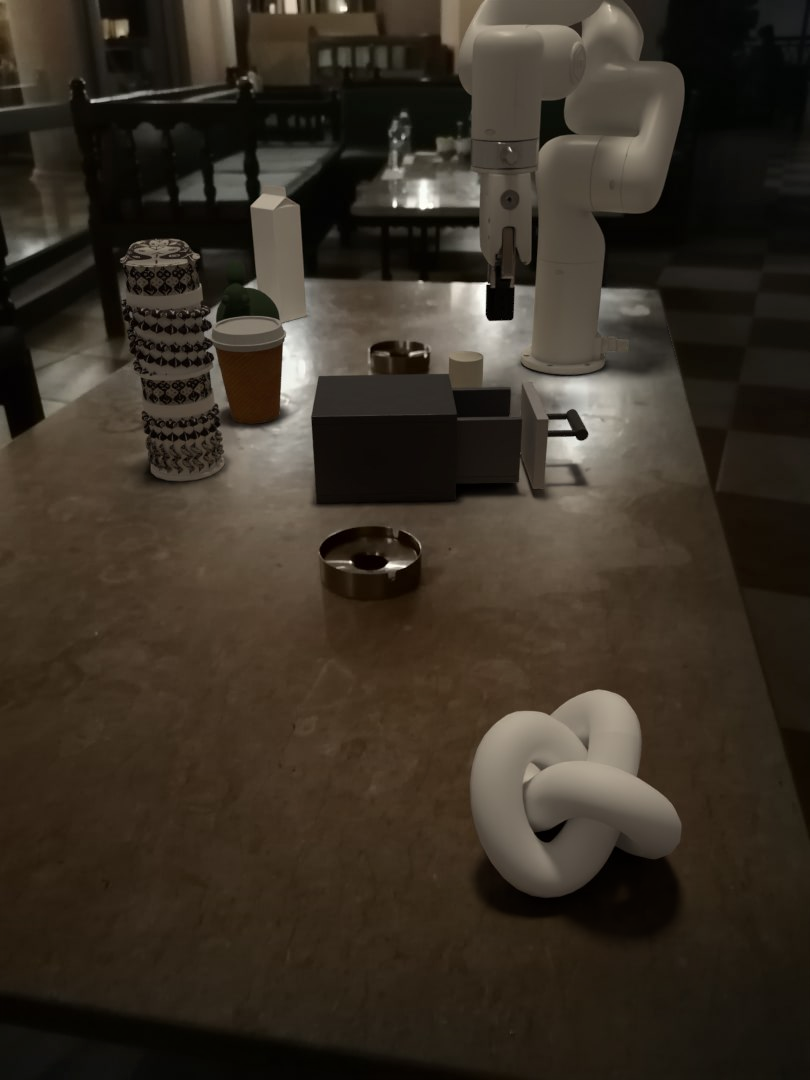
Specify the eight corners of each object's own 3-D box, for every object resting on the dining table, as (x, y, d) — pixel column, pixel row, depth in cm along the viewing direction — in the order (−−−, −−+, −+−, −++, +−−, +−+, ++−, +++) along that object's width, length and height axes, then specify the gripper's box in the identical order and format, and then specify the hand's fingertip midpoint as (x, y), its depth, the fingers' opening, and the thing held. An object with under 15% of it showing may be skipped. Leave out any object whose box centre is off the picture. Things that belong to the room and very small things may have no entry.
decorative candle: (130, 476, 103) (91, 248, 91) (175, 446, 110) (145, 232, 98) (200, 487, 100) (170, 254, 88) (241, 455, 107) (219, 237, 95)
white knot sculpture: (529, 965, 48) (540, 844, 44) (427, 812, 57) (428, 700, 53) (697, 889, 52) (722, 771, 48) (576, 758, 62) (588, 651, 57)
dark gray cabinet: (447, 453, 108) (448, 373, 103) (455, 500, 96) (457, 413, 92) (323, 455, 107) (318, 375, 103) (316, 503, 96) (311, 416, 91)
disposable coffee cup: (278, 431, 114) (271, 337, 108) (207, 426, 116) (196, 333, 110) (301, 405, 122) (295, 316, 117) (234, 400, 124) (225, 313, 118)
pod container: (480, 392, 126) (481, 350, 123) (483, 404, 122) (485, 361, 119) (447, 393, 126) (447, 351, 123) (449, 404, 122) (450, 361, 119)
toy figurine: (281, 408, 126) (283, 340, 147) (269, 272, 115) (273, 220, 136) (212, 411, 125) (224, 343, 146) (194, 275, 115) (210, 222, 135)
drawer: (569, 445, 107) (575, 381, 103) (589, 487, 97) (596, 418, 93) (413, 448, 107) (412, 383, 103) (416, 491, 96) (416, 421, 93)
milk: (281, 323, 158) (271, 189, 148) (259, 317, 162) (247, 186, 151) (307, 316, 162) (298, 185, 152) (285, 310, 166) (275, 182, 155)
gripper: (551, 164, 94) (541, 336, 103) (526, 146, 107) (520, 301, 116) (479, 166, 94) (476, 338, 103) (463, 148, 107) (461, 303, 116)
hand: (499, 318), depth 110 cm, fingers closed
